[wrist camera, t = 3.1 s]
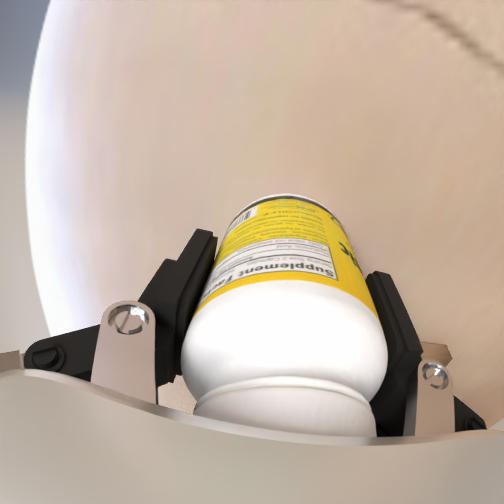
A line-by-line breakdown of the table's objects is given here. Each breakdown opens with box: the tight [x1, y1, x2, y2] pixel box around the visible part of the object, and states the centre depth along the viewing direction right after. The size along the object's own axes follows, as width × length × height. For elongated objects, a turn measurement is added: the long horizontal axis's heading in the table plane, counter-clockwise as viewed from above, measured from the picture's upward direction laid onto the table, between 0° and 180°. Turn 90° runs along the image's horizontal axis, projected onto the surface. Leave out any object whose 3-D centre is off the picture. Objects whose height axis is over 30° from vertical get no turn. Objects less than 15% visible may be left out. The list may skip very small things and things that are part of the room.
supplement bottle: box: [181, 194, 388, 437], centre depth 9 cm, size 5×5×10 cm
